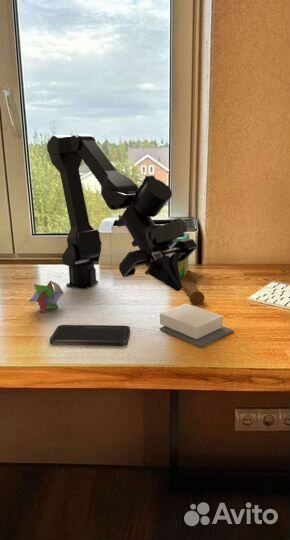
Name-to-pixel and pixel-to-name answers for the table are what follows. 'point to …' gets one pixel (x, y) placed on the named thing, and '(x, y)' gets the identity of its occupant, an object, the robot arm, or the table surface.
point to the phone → (90, 335)
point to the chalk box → (184, 264)
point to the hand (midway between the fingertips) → (179, 290)
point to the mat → (203, 340)
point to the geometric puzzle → (47, 295)
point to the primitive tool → (192, 291)
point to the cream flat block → (191, 320)
